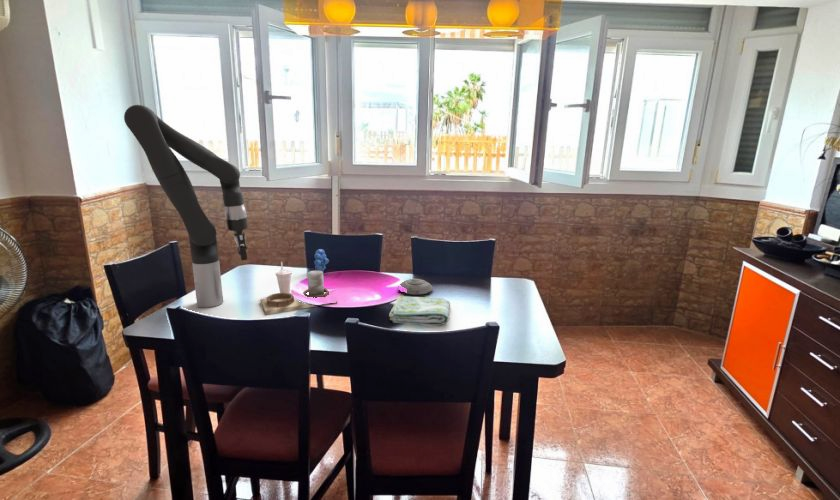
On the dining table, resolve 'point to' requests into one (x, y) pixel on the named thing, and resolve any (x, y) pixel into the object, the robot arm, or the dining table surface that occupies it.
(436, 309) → the towel
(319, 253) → the grapes
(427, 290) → the grey rounded dome
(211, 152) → the robot arm
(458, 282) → the dining table surface
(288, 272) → the smoothie
